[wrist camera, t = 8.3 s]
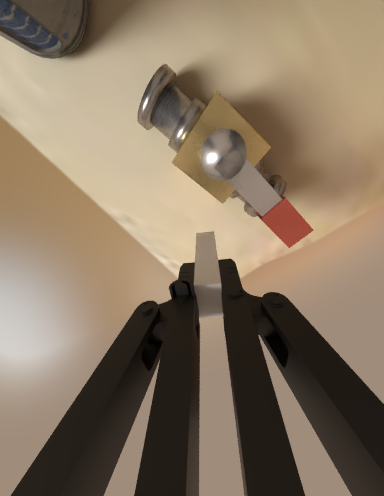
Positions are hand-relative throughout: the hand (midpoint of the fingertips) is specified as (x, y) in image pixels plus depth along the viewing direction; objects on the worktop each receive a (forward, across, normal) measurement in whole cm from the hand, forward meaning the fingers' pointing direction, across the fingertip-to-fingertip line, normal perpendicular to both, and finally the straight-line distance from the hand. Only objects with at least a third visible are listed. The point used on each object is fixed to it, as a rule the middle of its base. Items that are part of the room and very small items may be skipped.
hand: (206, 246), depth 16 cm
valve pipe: (+13, +2, +7) cm, 15 cm away
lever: (+6, +5, +3) cm, 8 cm away
